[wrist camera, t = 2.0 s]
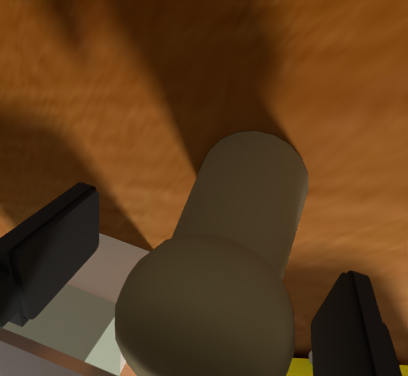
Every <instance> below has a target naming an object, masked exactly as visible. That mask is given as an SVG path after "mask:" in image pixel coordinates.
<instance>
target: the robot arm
mask: <svg viewBox="0 0 408 376" xmlns="http://www.w3.org/2000/svg"><path fill="white" fill-rule="evenodd" d="M98 246H99V193H98V192H97V191H96V188H95V187H94V186H91V185H88V184H85V183H82V182H79V183H77V184H76V185H75V186H73V187H72V188H70V189H69V190H67V191H66V192H65V193H63V194H62V195H60V196H59V197H58V198H56V199H55V200H53V201H52V202H51V203H49V204H48V205H46V206H45V207H43V208H42V209H41V210H39V211H38V212H36V213H35V214H34V215H32V216H31V217H29V218H28V219H27V220H25V221H24V222H22V223H21V224H19V225H18V226H17V227H15V228H14V229H12V230H11V231H10V232H8V233H7V234H5V235H4V236H3V237H1V238H0V376H117V375H115V374H113V373H110V372H108V371H105V370H103V369H101V368H98V367H96V366H94V365H91V364H89V363H86V362H84V361H82V360H79V359H77V358H74V357H72V356H70V355H67V354H65V353H62V352H60V351H58V350H55V349H53V348H50V347H48V346H46V345H43V344H41V343H38V342H36V341H34V340H31V339H29V338H26V337H24V336H21V335H19V334H16V333H13V332H11V331H8V330H6V329H3V328H2V327H4V326H5V325H6V324H7V323H8V322H11V323H13V324H16V325H18V326H20V327H23V326H24V325H25V324H26V323H27V322H28V321H29V319H30V320H32V319H34V318H36V317H37V316H38V315H39V314H40V313H41V311H42V310H43V309H44V308H45V307H46V306H47V305H48V304H49V303H50V301H51V300H52V299H53V298H54V297H55V296H56V295H57V294H58V293H59V291H60V290H61V289H62V288H63V287H64V286H65V285H66V284H67V283H68V282H69V280H70V279H71V278H72V277H73V276H74V275H75V274H76V273H77V272H78V270H79V269H80V268H81V267H82V266H83V265H84V264H85V263H86V262H87V260H88V259H89V258H90V257H91V256H92V255H93V254H94V253H95V251H96V250H97V248H98ZM311 344H312V365H313V376H402V373H401V370H400V367H399V363H398V360H397V357H396V353H395V350H394V347H393V344H392V340H391V337H390V334H389V330H388V328H387V326H386V325H385V324H384V323H383V322H382V319H381V316H380V312H379V309H378V306H377V302H376V299H375V295H374V292H373V288H372V285H371V282H370V279H369V277H368V276H366V275H363V274H360V273H357V272H354V271H348V272H347V273H341V275H340V276H339V278H338V279H337V281H336V283H335V284H334V286H333V288H332V289H331V291H330V292H329V294H328V296H327V297H326V299H325V300H324V302H323V304H322V305H321V307H320V308H319V310H318V312H317V313H316V315H315V317H314V318H313V320H312V324H311Z"/></svg>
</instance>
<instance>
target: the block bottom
mask: <svg viewBox="0 0 408 376" xmlns="http://www.w3.org/2000/svg"><path fill="white" fill-rule="evenodd" d="M149 252H150V251H147V250H144V249H142V248H139V247H136V246H133V245H131V244H128V243H125V242H123V241H120V240H117V239H115V238H112V237H109V236H106V235H104V234H101V233H99V246H98V248H97V250H96V251H95V253H94V254H93V255H92V256H91V257H90V258H89V259H88V260H87V262H86V263H85V264H84V265H83V266H82V267H81V268H80V269H79V270H78V272H77V273H76V274H75V275H74V276H73V277H72V278H71V279H70V280H69V282H68V283H67V284H69V285H71V286H74V287H76V288H79V289H81V290H84V291H86V292H89V293H91V294H94V295H96V296H99V297H101V298H104V299H106V300H109V301H111V302H114V303H116V302H117V299H118V297H119V294H120V291H121V289H122V287H123V285H124V283H125V281H126V279H127V277H128V274H129V273H130V272H131V270H132V269H133V268H134V266H135V265H136V264H137V262H138V261H139V260H140V259H141V258H143V257H144V256H145V255H147V254H148V253H149ZM125 363H126V360H125V359H124V357H123V356H122V354H121V357H120V373H121V371H122V369H123V367H124V365H125Z"/></svg>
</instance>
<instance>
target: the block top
mask: <svg viewBox="0 0 408 376" xmlns="http://www.w3.org/2000/svg"><path fill="white" fill-rule="evenodd" d="M115 305H116V303H114V302H111V301H109V300H106V299H104V298H101V297H99V296H96V295H94V294H91V293H89V292H86V291H84V290H81V289H79V288H76V287H74V286H71V285H69V284H66V285H65V286H64V287H63V288H62V289H61V290H60V291H59V293H58V294H57V295H56V296H55V297H54V298H53V299H52V300H51V301H50V303H49V304H48V305H47V306H46V307H45V308H44V309H43V310H42V311H41V313H40V314H39V315H38V316H37V317H36V318H34V319H32V320H30V319H29V321H28V322H27V323H26V324H25V325H24V326H23V327H20V326H18V325H16V324H13V323H11V322H8V323H7V324H6V325H5V326H4V327H2V328H3V329H6V330H8V331H11V332H13V333H16V334H19V335H21V336H24V337H26V338H29V339H31V340H34V341H36V342H38V343H41V344H43V345H46V346H48V347H50V348H53V349H55V350H58V351H60V352H62V353H65V354H67V355H70V356H72V357H74V358H77V359H79V360H82V361H84V362H86V363H89V364H91V365H94V366H96V367H98V368H101V369H103V370H105V371H108V372H110V373H113V374H115V375H117V376H120V357H121V351H120V349H119V347H118V345H117V342H116V340H115Z"/></svg>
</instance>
